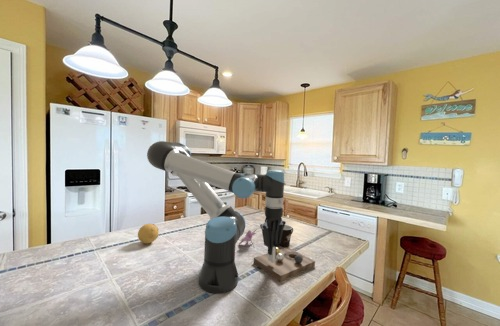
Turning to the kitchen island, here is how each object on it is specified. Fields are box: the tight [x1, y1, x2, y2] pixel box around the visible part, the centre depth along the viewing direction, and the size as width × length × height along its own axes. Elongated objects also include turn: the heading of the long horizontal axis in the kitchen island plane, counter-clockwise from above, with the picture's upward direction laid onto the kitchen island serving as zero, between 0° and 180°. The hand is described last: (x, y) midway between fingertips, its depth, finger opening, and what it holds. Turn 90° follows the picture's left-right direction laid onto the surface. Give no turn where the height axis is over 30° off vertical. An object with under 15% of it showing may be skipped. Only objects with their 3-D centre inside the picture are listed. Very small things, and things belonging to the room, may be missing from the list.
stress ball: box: [137, 223, 160, 245], centre depth 112 cm, size 10×10×10 cm
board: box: [253, 247, 316, 283], centre depth 97 cm, size 22×17×2 cm
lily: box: [238, 229, 257, 248], centre depth 115 cm, size 12×12×10 cm
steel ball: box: [276, 253, 284, 262], centre depth 95 cm, size 3×3×3 cm
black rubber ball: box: [295, 255, 302, 263], centre depth 94 cm, size 3×3×3 cm
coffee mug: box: [278, 224, 294, 248], centre depth 119 cm, size 12×9×10 cm
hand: (271, 261), depth 91 cm, fingers closed
